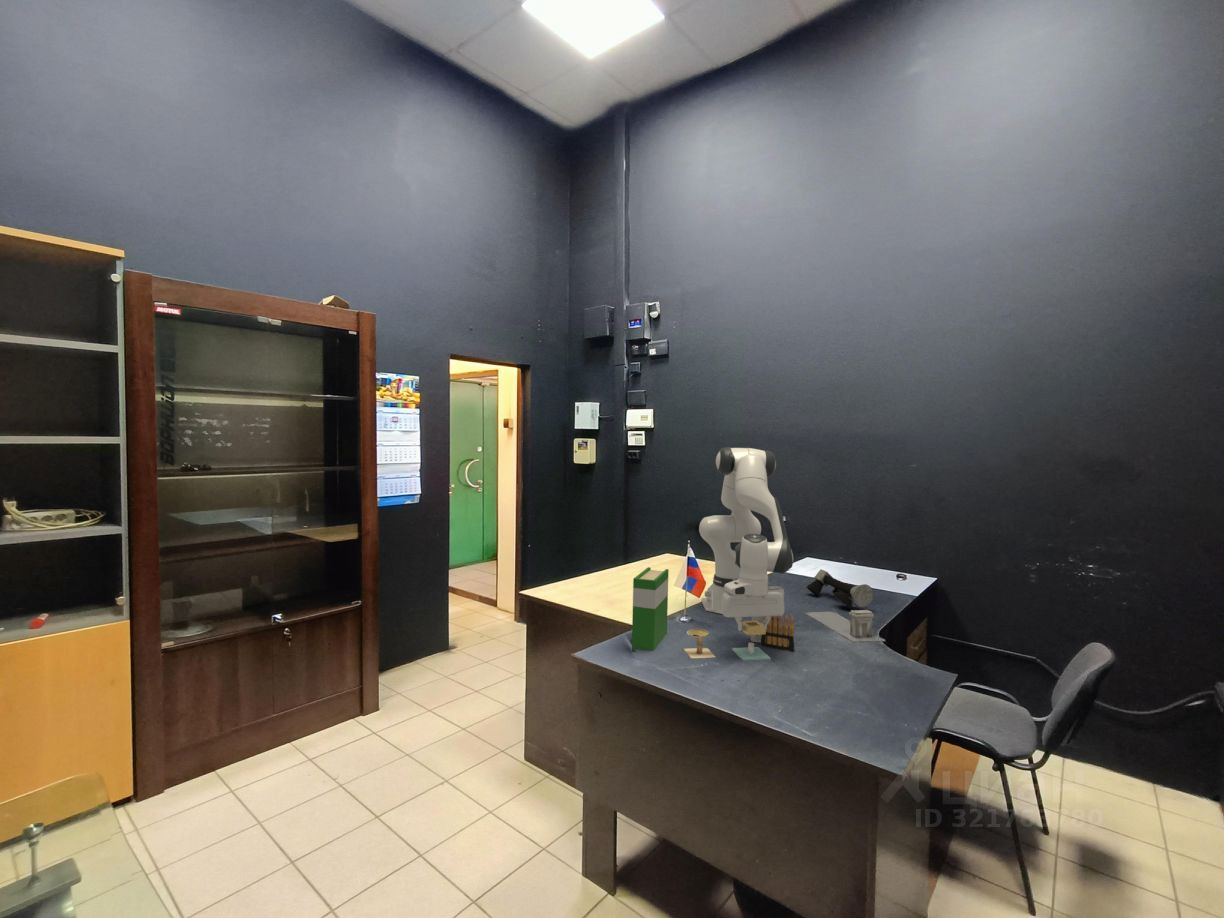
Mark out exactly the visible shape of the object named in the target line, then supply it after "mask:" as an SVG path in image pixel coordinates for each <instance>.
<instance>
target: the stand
mask: <svg viewBox="0 0 1224 918" xmlns="http://www.w3.org/2000/svg"><path fill="white" fill-rule="evenodd" d="M703 641H704V637H703V636H697V637H696V647H693V648H690V647H689V648H683V650H684V651H685V653H687V655H688V657H689V658H690V659H708V658H709V659H711V658H716V656H715V654H714V653H713V652H712V651H711V650H710V649H709V648H708V647H704V646H703Z"/></svg>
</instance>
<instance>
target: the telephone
mask: <svg viewBox="0 0 1224 918" xmlns="http://www.w3.org/2000/svg"><path fill="white" fill-rule="evenodd" d="M813 578H814V579H815V580H814V581H812V582H811V583H810V584H808V585H806V588H807V590H808V591H809V592H811V593H812V594H813V595H814V596H816V595H817V596H816V597H820V595H821V592H822V591H823V588H824V587H828V586H829V587H830V586H831V587H832V588H833V589H832V590H830V591H831V593H832V594H833V596H835V597H837V598H838V600H840V601H841V602H842V603H843V604H845V606H846V607H847V608H848V609H849V610H850V611H853V602H854V604H855V605H856V606H857V607H859V608H865V607H868V606H870V604H871V603H872V601H873V598H874V590H873V588H872V587H871V586H870V585H868V584H866V583H865V584H859V585H855V584H851V583H848V582H843V581H841V580H839V579H836V578H835V577H833V576H832V574H830V573H829V571H826V570H824V569H820V570H819V571H818V572H817V573H816V574H815V576H813Z"/></svg>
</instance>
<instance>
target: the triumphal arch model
mask: <svg viewBox="0 0 1224 918" xmlns="http://www.w3.org/2000/svg"><path fill="white" fill-rule="evenodd" d="M804 614H805V615H807V616H809V617H810V618H812V619H814V620H815V621H817V622H819V623H820V624H821V625H824V626H825V627H827V628H828V629H830V630H832V631H833V632H835V633H836V634H838V635H840V636H841V637H843V638H845V639H846V640H847V641H850V642H851V643H854V644H856V642H860V643H871V642H870V641H879V642H886V639H884V638H882V637H881V636H878V635H877V636H875V637H872V633H873V620H874V619H873V618H874V617H875V614H874V613H873V612H872V611H871V610H868V609H862V610H861V609H859V610H850V612H849V613H848V614H849V615H850V620H849V619H847V618H846V617H844V616H842V615H840V614H838V613H837V612H835V611H814V612H813V611H811V612H804ZM871 637H872V638H871ZM878 638H879V640H878ZM879 642H878V643H879Z"/></svg>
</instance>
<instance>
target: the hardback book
mask: <svg viewBox="0 0 1224 918" xmlns="http://www.w3.org/2000/svg"><path fill="white" fill-rule="evenodd" d="M651 568H652V567H649V566H648V567H646V568H645V569H644V570H643V571H641V572H639V574H637V575H636V576H635V577H634V578H633V580H632V581H633V582H632V622H631V624H632V628H631V632H632V633H631V652H632V653H635V652H636V650H635V649H641V650H647V651H653V652H654V651H655V650H656V649H657V647H658V646H659V645H660V643H661V642H662V640H663V639H664V638H665V636H666V635H667V634H668V610H669V609H668V605H669V601H668V600H669V572H670V571H669V569H667V568H665V570H657V569H651ZM636 653H637V652H636Z"/></svg>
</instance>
